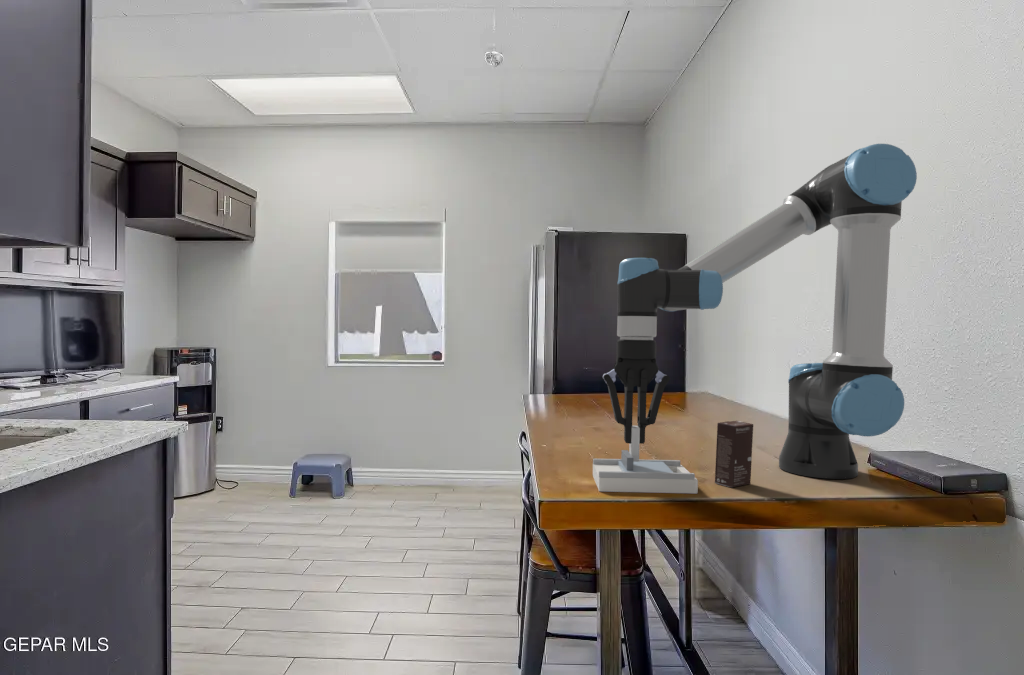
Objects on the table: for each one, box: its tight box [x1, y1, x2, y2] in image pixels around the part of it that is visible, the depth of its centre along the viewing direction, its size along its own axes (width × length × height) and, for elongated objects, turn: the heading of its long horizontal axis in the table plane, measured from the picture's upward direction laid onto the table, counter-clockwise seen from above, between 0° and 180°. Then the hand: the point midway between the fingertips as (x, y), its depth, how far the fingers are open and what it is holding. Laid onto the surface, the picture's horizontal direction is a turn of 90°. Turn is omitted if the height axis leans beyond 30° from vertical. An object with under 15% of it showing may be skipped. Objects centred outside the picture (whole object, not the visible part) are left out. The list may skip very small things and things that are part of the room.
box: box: [714, 420, 754, 488], centre depth 115 cm, size 6×4×12 cm
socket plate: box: [592, 458, 699, 494], centre depth 114 cm, size 18×12×4 cm, turn 88°
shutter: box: [618, 449, 673, 473], centre depth 114 cm, size 9×9×3 cm
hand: (634, 459), depth 114 cm, fingers closed
